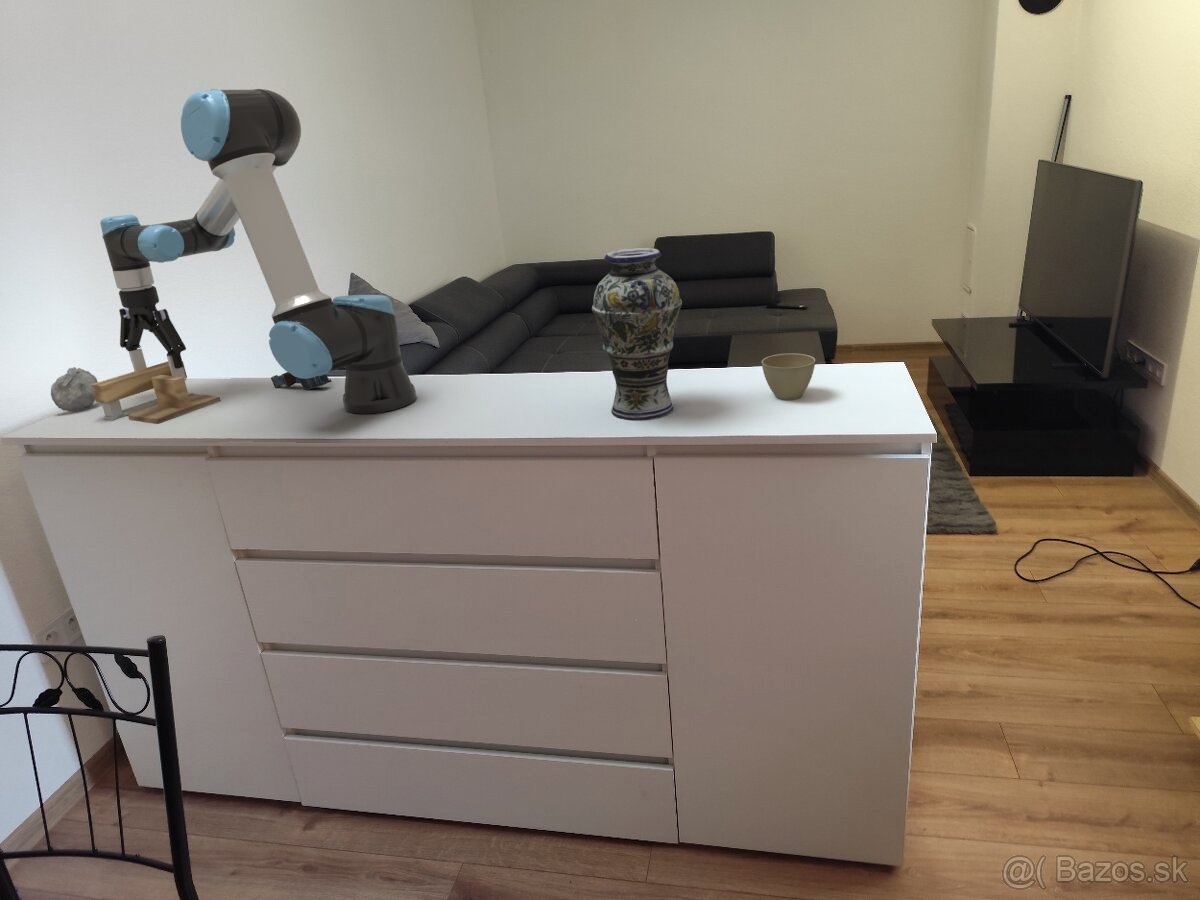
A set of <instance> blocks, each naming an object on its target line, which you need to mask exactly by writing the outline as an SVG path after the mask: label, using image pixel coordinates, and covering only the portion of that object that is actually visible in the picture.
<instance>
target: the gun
mask: <svg viewBox="0 0 1200 900" xmlns="http://www.w3.org/2000/svg"><path fill="white" fill-rule="evenodd" d="M270 379H271V382H272V384H273V386H274V388H275V389H277V388H278V389H279V387H282V386H285V387H286V388H289V387H292V386H294V385H295V384H299V385H301V386H302V387H303V389H304V390H305V391H308V390H312V389H315V388H319V387H322V386H326V384H328V383H332V379H331V378H329V376H328V373H327V374H325V375H322V376H316V377H312V378H307V379H303V378H298V377H295V376H293V375H292V374H291V373H288V372H287V371H285V372H284V373H281V375H277V374H275V375H273V376H271V377H270Z"/></svg>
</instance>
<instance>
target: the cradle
mask: <svg viewBox="0 0 1200 900" xmlns="http://www.w3.org/2000/svg"><path fill="white" fill-rule="evenodd" d="M156 405H158V402H157V398H155V399H153V400H152V399H151V400H149V401H146V402H143V403H140V404H137V405H134V406H131V407H128V408H124V409H122V408H123V407H122V404H121V402H120V400H117V401H114V402H111V403H107V404H105V403H101V406H102V410H103V413H104V416H103V417H104V420H109V421H114V420H117V419H120V418H124V417H126V416H128V415H130V414H133V413H135V412H138V411H141V410H144V409H147V408H150V407H153V406H156Z"/></svg>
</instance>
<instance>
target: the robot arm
mask: <svg viewBox="0 0 1200 900" xmlns="http://www.w3.org/2000/svg"><path fill="white" fill-rule="evenodd" d="M181 110H182V111H181V117H180V130H181V131H180V132H181V135H182V140H183V142H184V145H185V148H186V149H187V151H188V152H189V154H191V155H193V157H194V158H196V159H197V160H200V161H202V162H207V163H208V166H209V169H210V171H211V173H212V175H213V176H214V177H217V178H218V180H217V181H216V183H215V184H214V186H213V187H212V189H211V190H210V191H209V193H208V195H207V197H206V198H205V200H204V201H203V202H202V204H201V206H200V207H199V209H198V210H197V211H196V212H195V214H194V216H193V217H192V218H189V219H182V220H181V219H180V220H177V221H176V220H175V221H170V222H162V223H156V224H145V225H141V224H140V220H139V218H138V217H137V216H136V215H134V214H121V215H113V216H106V217H103V218H102V219H101V220H100V222H99V224H100V227H101V232H102V240H103V241H104V247H105V248H106V252H107V255H108V259H109V263H110V266H111V269H112V273H113V279H114V281H115V285H116V288H117V289H118V290H119V292H118V295H119V299H120V302H121V303H120V304H121V306H122V307H123V308H119V316H120V330H119V333H120V335H119V345H120V347H121V348H122V349H123V348H125V351H127V352H128V353H129V357H130V362H131V364H132V367H133V372H134V371H137V370H141V369H144V368H147V367H148V366H147V363H146V359H145V356H144V353H143V349H142V348H141V344H140V343H141V341H142V336H143V333H144V330H145V331H148V332H149V333H151V334H153V335H154V336H155V338H156V339H157V340H158V341H159V342H160V344H161V345H162V347H163V348H164V349H165V350H166V351H167V353H166V358H167V361H168V362H169V366H170V370H171V374H172V376H177V377H184V380H185V381H187V378H186V376H185V373H184V369H183V364H184V362H183V363H182V361H183V359H182V355H181V353H182V352H184V351H186V350H187V347H186V345H185V343H184V341H183V340H182V338H181V337H180V335H179V333H178V331H177V329H176V327H175V326H174V323H173V322H172V320H171V318H170V316H169V312H168V310H167V309H166V308H163V309H160V310H159V309H157V307H156V305H157V304H158V303H160V298H159V294H158V290H157V287H155V286H154V283H155V280H154V276H153V272H152V271H153V270H152V269H151V263H150V262H152V263H153V262H155V263H162V264H163V263H165V262H166V263H168V262H174V261H176V260H178V258H183V257H190V256H192V255H199V254H204V253H211V252H219V251H222V250H224V249H227V248H230V247H231V246H232V245H233V244H234V243H235V236H236V229H235V225H236V224H237V223H238V221H241V224H242V226H243V228H244V232H245V233H246V236H247V238H248V241H249V244H250V246H251V248H252V251H253V253H254V255H255V258H256V261H257V263H258V265H259V268H260V271H261V272H262V273H261V274H263V277H264V280H265V282H266V285H267V287H268V289H269V292H270V295H271V296H272V299H273V301H274V304H275V306H274V309H273V311H272V314H271V320H273V323H274V325H273V326H272V327H271V328H270V330H269V332H268V333H269V334H268V337H269V340H268V344H269V345H268V346H269V349H270V351H271V354H272V355H273V357H274V359H275V361H276V362H277V364H278V365H279V366H280V367H281V368H282V369H283V370H284V371H285V372H288V373H291V374H292V375H293V376H295V377H298V378H303V379H307V378H312V377H316V376H322V375H325V374H327V375H328V373H330V372H333V371H336V370H338V369H341V368H344V367H345V368H344V369H345V378H344V379H345V380H344V393H343V395H342V402H343V408H344V410H345V411H346V412H349V413H352V414H359V415H361V414H362V415H363V414H364V415H365V414H366V415H368V414H379V413H383V412H390V411H394V410H398V409H402V408H404V407H407V406H409V405H411V404H412V403H414V402H415V401H416V399H417V393H416V387H415V385H414V384H413V383H412V382H411V379H410V377H409V375H408V372H407V371H406V368H405V367H404V365H403V359H402V353H401V352H402V351H401V348H400V339H399V335H398V334H399V333H398V327H397V322H396V321H397V320H396V313H395V311H394V307H393V302H392V301H391V299H390V298H389V296H387V295H384V294H383V295H382V294H353V295H352V294H351V295H339V296H335V297H333V299H332V297H331V295H328V294H326V293H324V292H322V291H321V290H320V288H319V285H318V282H317V280H316V277H315V276H314V274H313V271H312V268H311V265H310V263H309V260H308V258H307V256H306V253H305V250H304V248H303V245H302V243H301V241H300V240H301V239H300V237H299V235H298V233H297V230H296V228H295V225H294V222H293V220H292V218H291V216H290V213H289V210H288V208H287V205H286V202H285V201H284V200H285V199H284V198H283V195H282V193H281V190H280V188H279V185H278V182H277V181H276V177H275V175H274V172H275V171H276V169H277V168H279V167H280V168H281V167H283V166H285V165H287V163H289V161H290V160H291V158H292V157H293V156H294V154H295V153H296V150H297V148H298V147H299V145H300V144H299V143H300V141H301V136H302V135H301V134H302V127H301V121H300V118H299V115H298V113H297V111H296V109H295V107H293V105H292V104H291V102H290V101H289V100H287V98H285V97H284V96H283V95H281V94H279V93H278V92H275V91H272V90H269V89H266V88H265V89H264V88H262V89H261V88H257V89H256V88H255V89H219V88H212V89H210V90H199V91H195V92H193V93H192V94H190V95H189V96H188V98H186V100H185V102H184V104H183V107H182V109H181ZM239 219H240V220H239Z"/></svg>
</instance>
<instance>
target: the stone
mask: <svg viewBox="0 0 1200 900" xmlns="http://www.w3.org/2000/svg"><path fill="white" fill-rule="evenodd" d="M98 382H99V381H98V378H97V377H96V376H95V375H94V374H92V373H91V372H90V371H89V370H85V369H82V368H80V367H78V368H77V367H69V368H68V369H67V370H66V373H65V374H63V375H61V376H59V377H57V378H56V380H55V382H54V383H52V385H51V387H50V396H51V400H52V401H53V403H54V404H55V406H57V407H58V409H61V410H62V411H68V412H76V411H78V410H82V409H87V408H91V407H92V406H93V404H94V403H96V401H95V398H94V395H93V391H92V388H91V384H94V383H98Z"/></svg>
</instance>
